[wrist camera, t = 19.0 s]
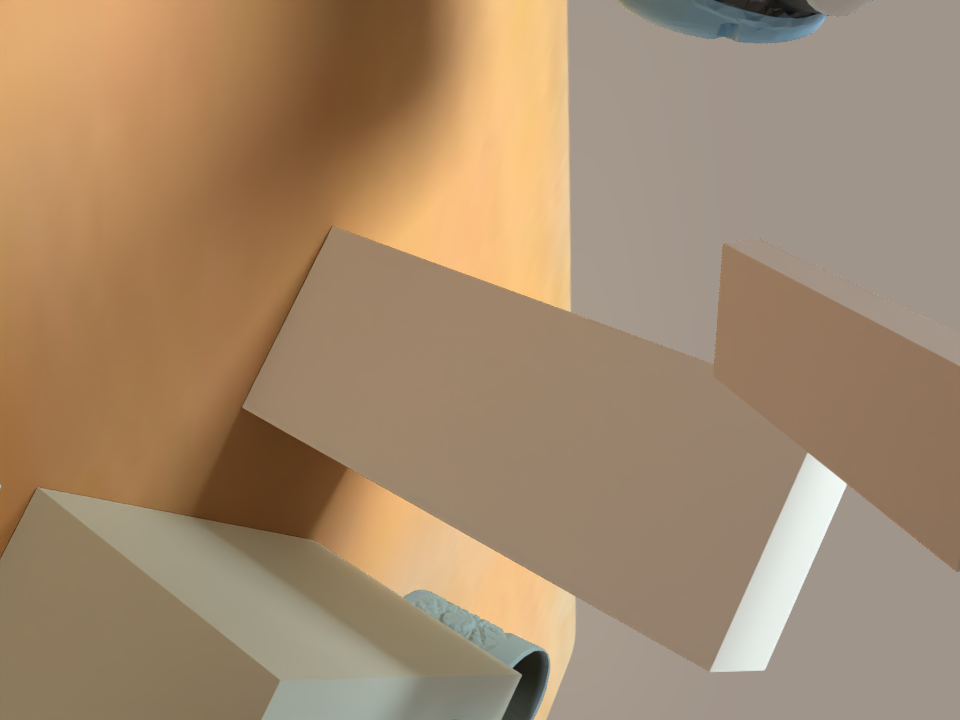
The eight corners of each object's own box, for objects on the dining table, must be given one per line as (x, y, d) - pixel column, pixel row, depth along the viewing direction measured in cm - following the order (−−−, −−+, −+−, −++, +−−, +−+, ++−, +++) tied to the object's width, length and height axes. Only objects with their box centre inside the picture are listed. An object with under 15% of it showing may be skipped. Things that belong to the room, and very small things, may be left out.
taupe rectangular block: (241, 407, 52) (709, 672, 36) (332, 226, 53) (828, 405, 37) (358, 449, 62) (764, 670, 46) (433, 296, 63) (857, 461, 47)
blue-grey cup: (388, 702, 78) (496, 782, 71) (340, 668, 70) (457, 755, 64) (454, 603, 81) (562, 671, 75) (415, 560, 73) (533, 632, 67)
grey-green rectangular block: (-61, 676, 43) (216, 995, 31) (37, 487, 43) (343, 729, 32) (249, 673, 61) (494, 871, 50) (314, 540, 62) (570, 705, 50)
